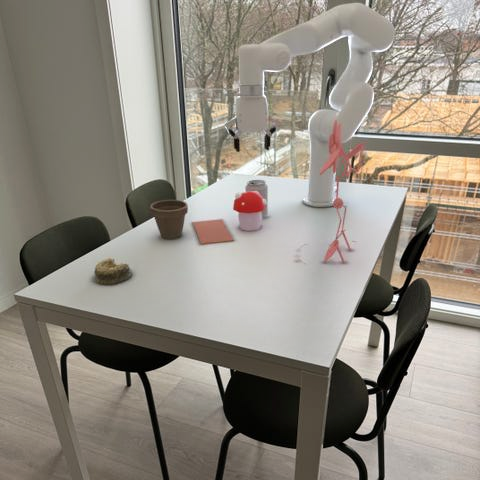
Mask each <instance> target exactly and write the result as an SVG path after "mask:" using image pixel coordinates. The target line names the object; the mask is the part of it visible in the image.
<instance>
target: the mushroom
mask: <svg viewBox="0 0 480 480" xmlns="http://www.w3.org/2000/svg"><path fill="white" fill-rule="evenodd" d="M234 198H235V199H234V200H233V206H232V210H233V211H235V212H237V213H238V215H237V217H238V223H239V228H240V229H241V230H243V231H251V232H253V231H257V230H259V229H260V228H261V225H262V220H263V218H262V214H261V211H263V210H266V204H267V201H266V200H265V199H264V198H263V197H262V196H261V195H260V194H259V192H258V191H246V190H245V191H244V192H236V193H235V195H234Z"/></svg>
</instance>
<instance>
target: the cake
mask: <svg viewBox="0 0 480 480" xmlns="http://www.w3.org/2000/svg"><path fill="white" fill-rule="evenodd" d="M93 274H94V282H95V283H97V284H99V285H114V284H115V285H116V284H118V283H121V282H124V281H126V280H127V279H129V278H130V277H131V276H132V275H133V270H132V269H131V268H130V266H129V264H128V263H126V262H124V263H123V262H121V263H119V264H117V263H116V262H115V258H110V257H109V258H106V259H102V260H101V261H100V262H97V264H96V265H95V267H94V271H93Z"/></svg>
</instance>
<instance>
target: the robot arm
mask: <svg viewBox="0 0 480 480" xmlns="http://www.w3.org/2000/svg"><path fill="white" fill-rule="evenodd" d="M395 29H396V28H395V26H394V24H393V23H392V22H391V21H390V20H389V19H388V18H387V17H385V16H384V15H383V14H381V13H379V12H377V11H376V10H374V9H373V8H371V7H370V6H368V5H366V4H364V3H362V2H352V3H342V4H339V5H336V6H334V7H332V8H330V9H328V10H326V11H324V12H323V13H320V14H319V15H317V16H315V17H313V18H311V19H309V20H307V21H305V22H303V23H300V24H298V25H296V26H293V27H292V28H289V29H287V30H284V31H282V32H280V33H277V34H275V35H273V36H271V37H269V38H267V39H265V40H264V41H262V42H260V43H252V44H249V43H247V44H242V45H240V46H239V48H238V83H239V85H238V86H239V89H238V90H239V91H238V92H239V96H236V101H235V110H234V112H235V114H234V117H233V118H232V119H230V120H228V121H226V122H225V123H224V127H225V129H226V130H227V133H228V134H229V135H230V136H231V137H232V138H233V149H234V150H235V151H236V152H237V153H240V152H241V149H240V148H241V145H240V144H241V143H240V135H241V134H242V133H252V132H253V133H254V132H263V133H264V134H265V135H264V141H263V142H264V143H263V145H264V149H265V150H266V151H269V150H270V147H271V137H273V136H272V135H274V133H275V132H276V131H277V128H278V127H279V124H280V121H279V120H278V119H275V118H274V117H271V116H270V115H269V105H268V99H267V95H266V94H265V93H266V92H269V90H270V88H269V86H266V85H265V72H274V73H280V72H283V71H285V70H286V69H287V68H289V67H290V65H291V63H292V59H293V57H298V56H303V55H309V54H313V53H315V52H318V51H320V50H321V49H323V48H325V47H327V46H328V45H330V44H332V43H334V42H336V41H337V40H340V39H341V38H344V37H348V38H347V39H348V48H349V60H348V62H347V63H348V64H347V66H346V68H345V69H344V71H343V72H342V74H341V76H340V77H339V79H338V81H336V83H335V85H334V86H333V88H332V90H331V92H330V94H329V98H328V101H329V102H328V103H329V106H330V107H331V108H332V109H329V108H327V109H326V108H324V109H319V110H316V111H314V112H313V113H312V115H311V116H310V118H309V120H308V125H307V127H308V137H309V162H308V163H309V165H308V166H309V167H308V186H307V188H308V189H307V190H308V191H307V196H305V197H304V198H303V203H304V204H305V205H306V206H309V207H314V208H329V207H334V206H333V201H334V200H335V199H336V196H335V193H336V189H337V186H336V176H337V175H336V174H337V171H336V172H335V173H333V166H332V167H331V168H330V169H329V168H328V169H327V170H326V171H325V172H324V173H323V174H322V175H320V172H321V169H322V167H323V166H324V164H325V162H326V161H327V160H328V158H329V157H330V153H329V148H328V145H329V144H328V143H329V137H330V134H332V133H333V126H334V121H335V120H337V126H338V125H339V124H340V123H341V137H340V139H341V141H342V144H345V143H347V142H348V141H350V140H351V138H352V137H353V136H354V135H355V133H356V132H357V130H358V129H359V127H360V126H361V124H362V123H363V121H364V120H365V118H366V117H367V115H368V114H369V113H370V110H371V108H372V105H373V103H374V98H375V93H374V89H373V87H372V86H371V84H369V83H368V82H369V80H370V78H371V76H372V73H373V67H374V66H373V56H372V55H373V54H372V53H381V52H385V51H387V50H388V49H389V48H391V46H392V45H393V43H394V42H395V38H396V30H395ZM269 122H270V123H272V126H271V127H270V128H269V124H270V123H269ZM233 125H234V127H235V130H234V131H233V130H232V127H231V126H233ZM338 191H339V188H338Z"/></svg>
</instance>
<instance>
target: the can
mask: <svg viewBox="0 0 480 480" xmlns="http://www.w3.org/2000/svg"><path fill="white" fill-rule="evenodd" d="M244 188H245V189H244V190H245V192H246V191H258V192H259V194H260V195H261V196H262V197H263V198H264V199H265V200H266V201H267V204H266V210H263V211H261V214H262V219H265V217H266V216H267V215H268V212H269V209H268V207H269V205H268V204H269V203H268V201H269V200H268V193H269V191H268V188H269V187H268V185H267V183H266V180H263V179H251V180H248V181H247V182H246V185H245V187H244Z"/></svg>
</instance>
